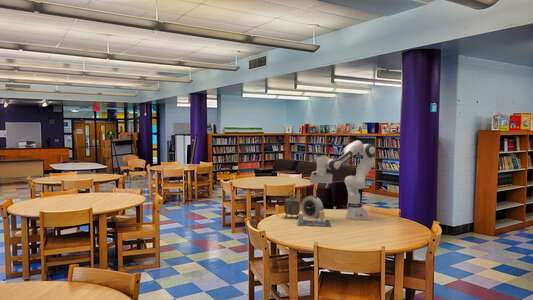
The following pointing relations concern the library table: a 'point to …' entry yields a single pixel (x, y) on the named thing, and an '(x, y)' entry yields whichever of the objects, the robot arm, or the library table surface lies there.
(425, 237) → the library table surface
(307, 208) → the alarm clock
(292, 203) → the tabletop clock
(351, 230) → the library table surface
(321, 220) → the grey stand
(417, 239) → the library table surface
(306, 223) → the gauge bed
